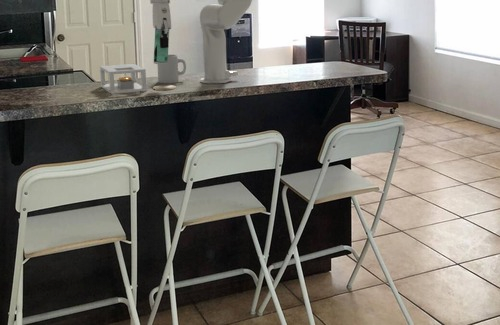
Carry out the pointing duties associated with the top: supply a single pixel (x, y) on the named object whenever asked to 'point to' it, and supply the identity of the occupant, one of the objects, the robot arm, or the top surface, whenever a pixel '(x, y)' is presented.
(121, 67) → the white open box frame
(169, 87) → the coaster
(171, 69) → the mug
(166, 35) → the robot arm
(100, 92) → the top surface
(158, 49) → the spray can
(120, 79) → the button
